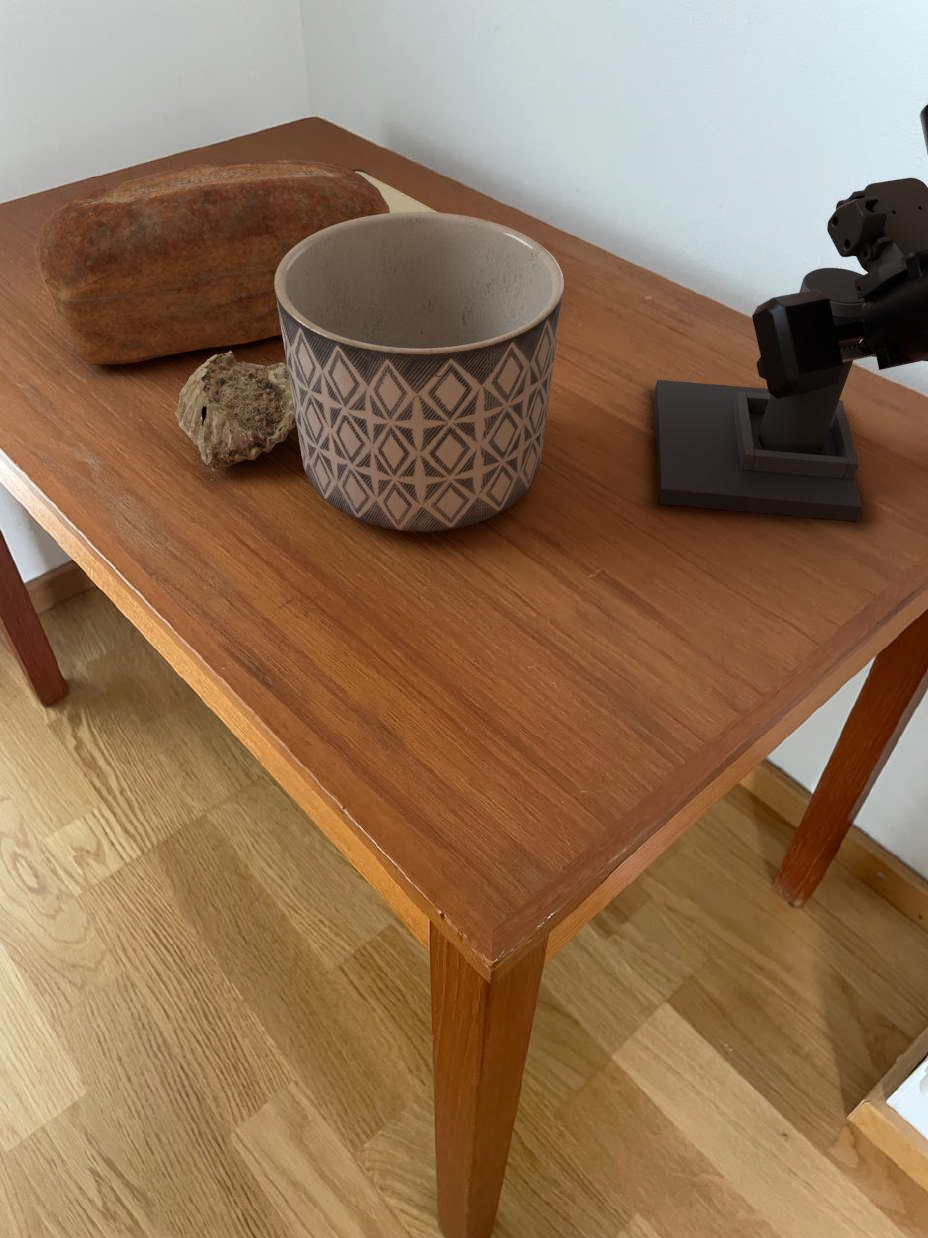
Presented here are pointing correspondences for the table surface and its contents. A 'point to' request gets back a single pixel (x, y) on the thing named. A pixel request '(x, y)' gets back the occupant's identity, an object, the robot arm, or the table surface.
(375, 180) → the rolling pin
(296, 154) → the table surface
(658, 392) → the base pad
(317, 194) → the bread
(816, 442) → the dark grey cylinder
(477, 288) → the planter
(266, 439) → the seashell
